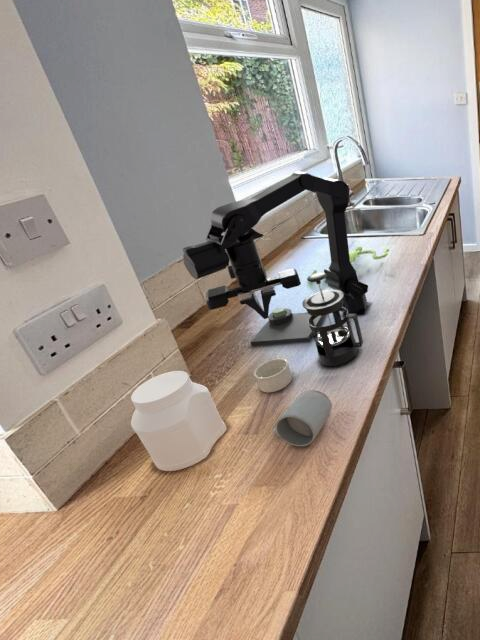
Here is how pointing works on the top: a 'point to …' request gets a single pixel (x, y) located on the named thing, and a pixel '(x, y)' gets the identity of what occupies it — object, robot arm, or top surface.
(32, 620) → the top surface
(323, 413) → the ceramic mug
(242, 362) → the top surface
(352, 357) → the french press
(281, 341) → the scale
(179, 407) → the jar
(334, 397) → the top surface
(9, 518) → the top surface
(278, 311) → the button
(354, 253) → the figurine
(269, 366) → the cup
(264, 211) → the robot arm
